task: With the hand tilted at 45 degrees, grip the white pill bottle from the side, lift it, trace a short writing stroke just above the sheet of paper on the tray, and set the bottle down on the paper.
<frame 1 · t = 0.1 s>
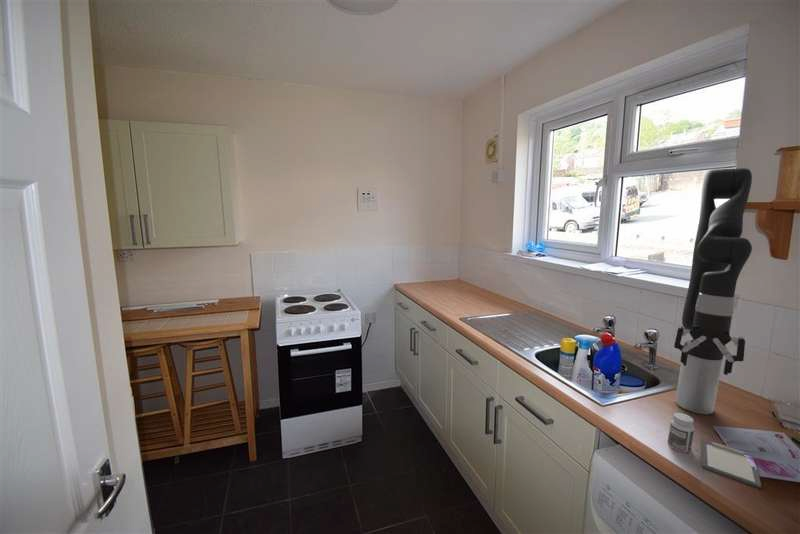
hand: (704, 369, 98), 17 cm above the worktop, tool pointing down, fingers open, 8 cm apart
pill bottle: (678, 447, 92), on the worktop
tray: (728, 463, 86), on the worktop
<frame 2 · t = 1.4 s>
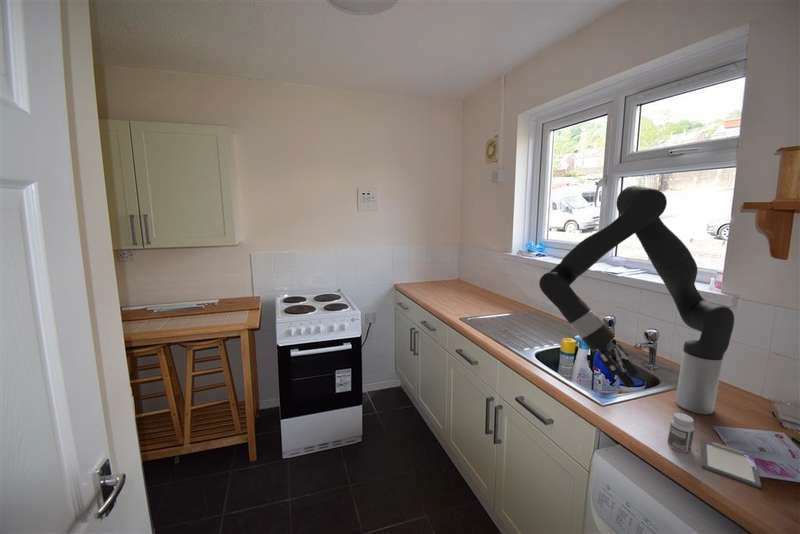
hand: (633, 380, 97), 15 cm above the worktop, tool tilted 45°, fingers open, 8 cm apart
nothing on the worktop moved.
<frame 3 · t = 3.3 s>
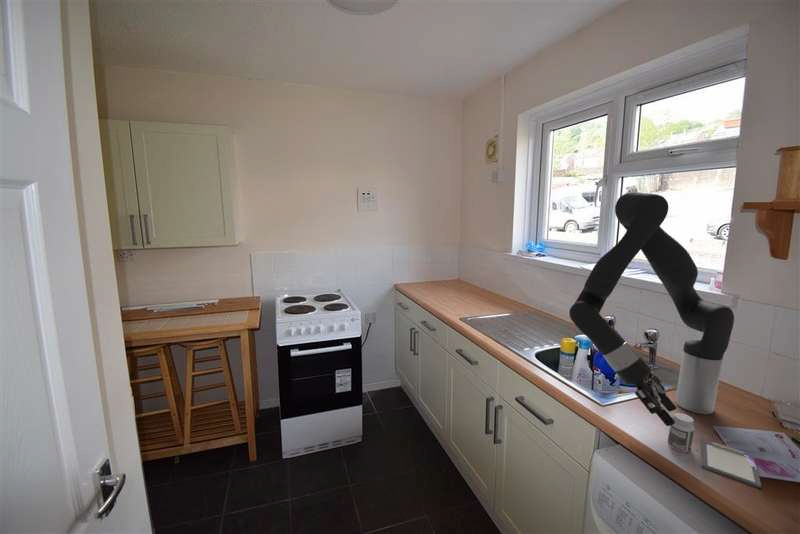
hand: (672, 416, 92), 7 cm above the worktop, tool tilted 45°, fingers open, 8 cm apart
nothing on the worktop moved.
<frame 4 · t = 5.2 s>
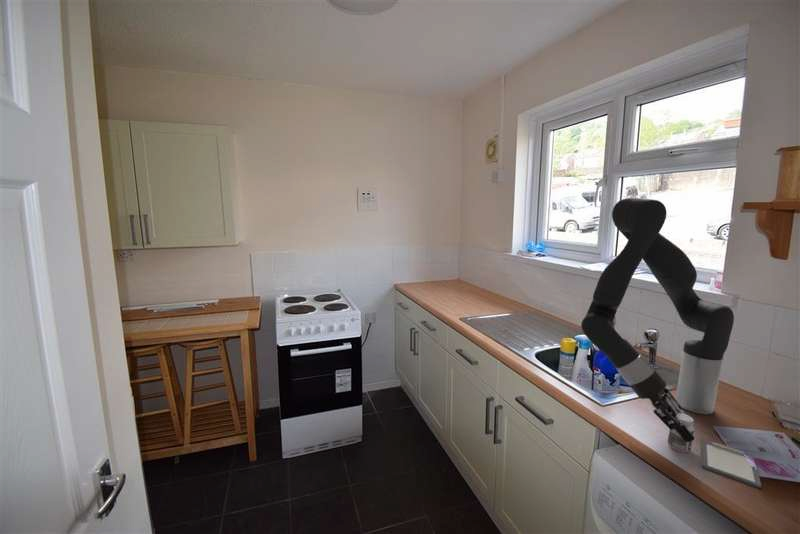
hand: (690, 434, 90), 4 cm above the worktop, tool tilted 45°, fingers closed on pill bottle, 4 cm apart
pill bottle: (678, 447, 92), on the worktop, touching gripper
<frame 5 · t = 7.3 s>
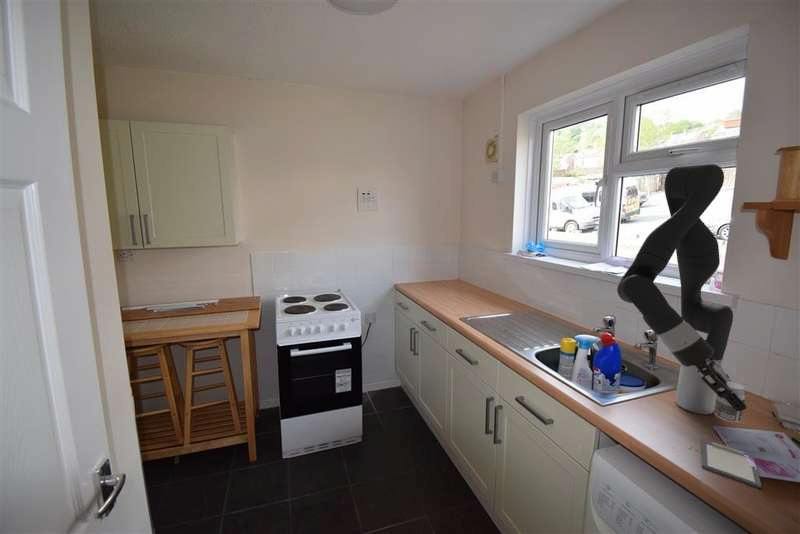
hand: (740, 404, 83), 16 cm above the worktop, tool tilted 45°, fingers closed on pill bottle, 4 cm apart
pill bottle: (726, 418, 85), point 11 cm above the worktop, touching gripper
when the fingers open (6 cm above the worktop, at t = 9.8 s): pill bottle drops 1 cm, resting on tray.
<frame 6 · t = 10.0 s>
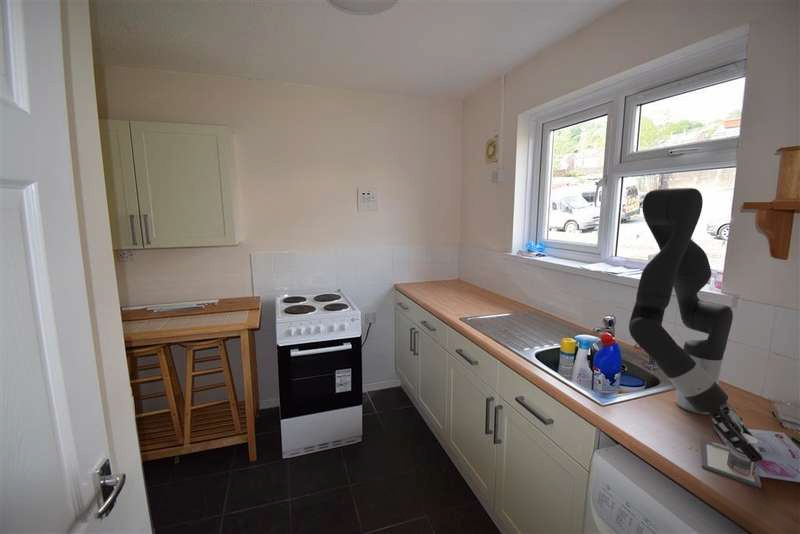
hand: (755, 451, 81), 6 cm above the worktop, tool tilted 45°, fingers open, 6 cm apart
pill bottle: (740, 470, 83), point 1 cm above the worktop, touching tray
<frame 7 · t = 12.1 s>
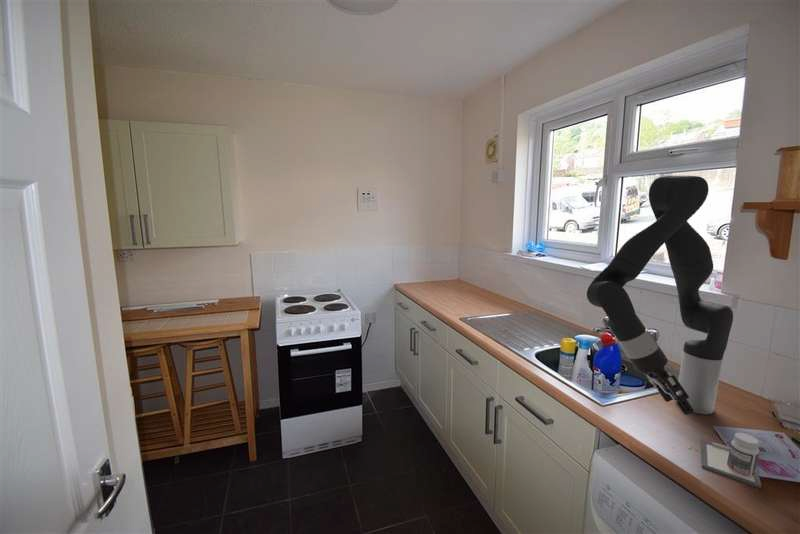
hand: (679, 406, 90), 11 cm above the worktop, tool tilted 35°, fingers open, 8 cm apart
nothing on the worktop moved.
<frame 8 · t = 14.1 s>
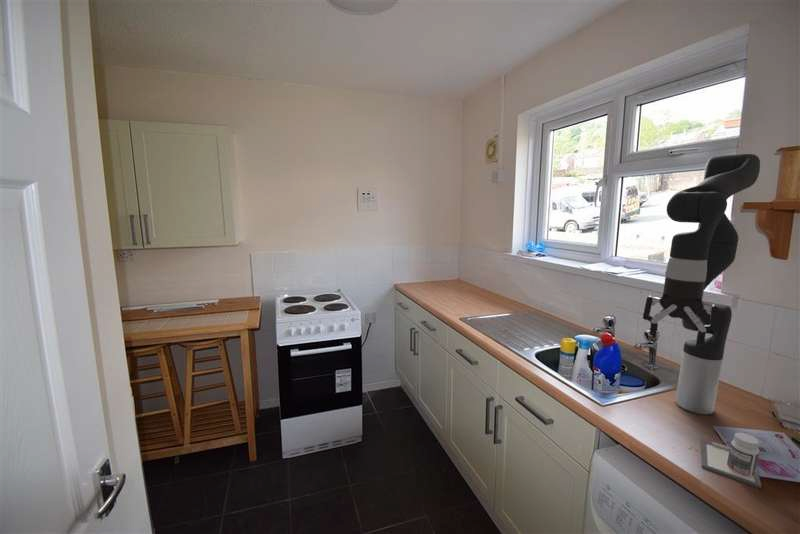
hand: (675, 341, 88), 28 cm above the worktop, tool pointing down, fingers open, 8 cm apart
nothing on the worktop moved.
at the end: pill bottle inside the target area (3.0 cm from its centre), point 0.5 cm above the worktop; pill bottle tilted 0°; the gripper is holding nothing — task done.
